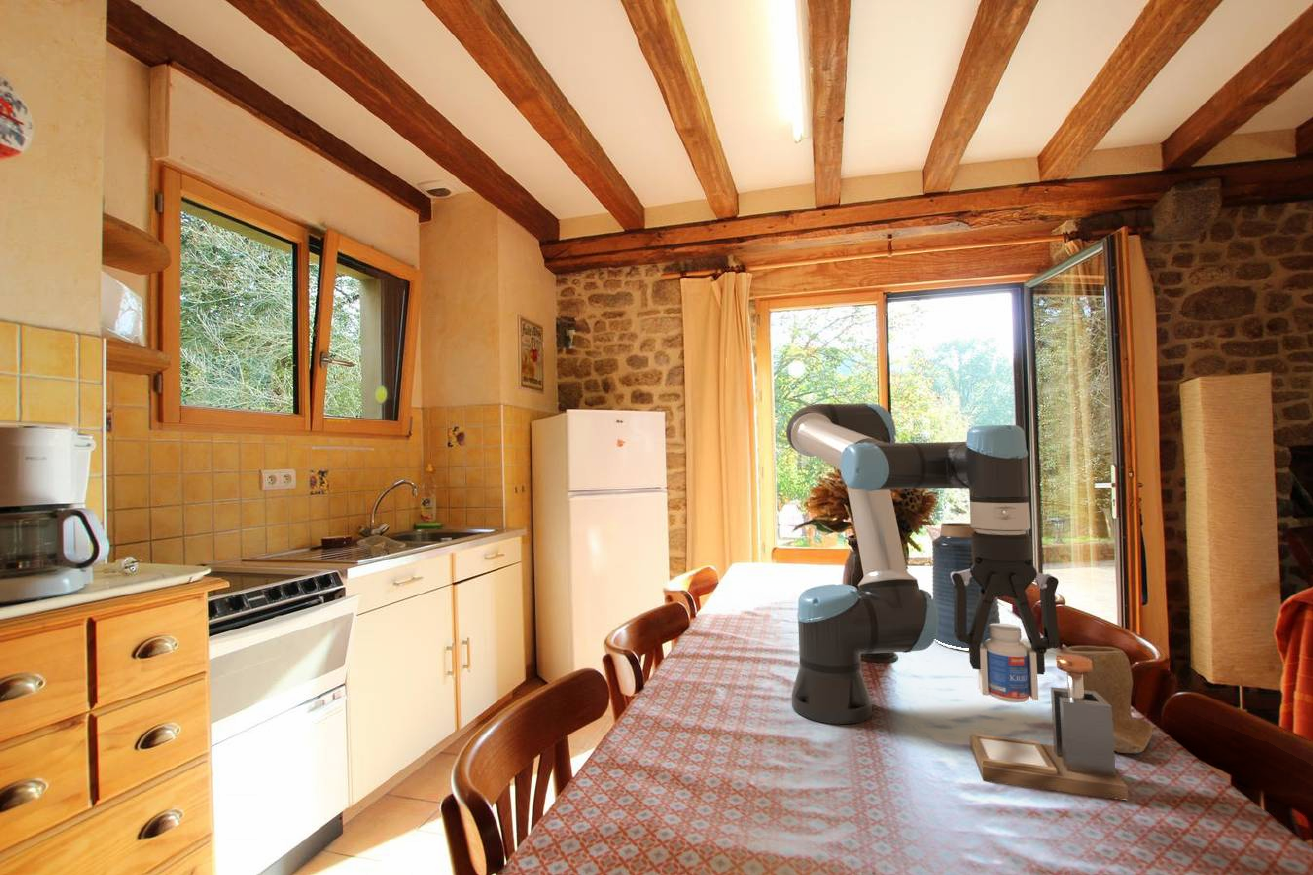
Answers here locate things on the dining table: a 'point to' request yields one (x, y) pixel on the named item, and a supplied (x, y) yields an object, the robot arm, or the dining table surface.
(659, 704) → the dining table surface
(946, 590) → the vase
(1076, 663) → the orange capped plunger
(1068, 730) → the press frame
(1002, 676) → the pill bottle
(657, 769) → the dining table surface
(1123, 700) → the tan suede boot
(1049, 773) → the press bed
